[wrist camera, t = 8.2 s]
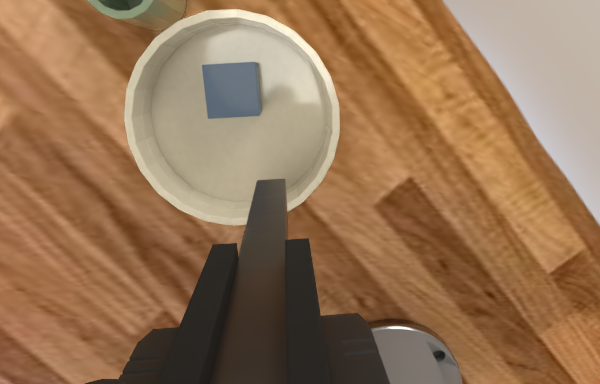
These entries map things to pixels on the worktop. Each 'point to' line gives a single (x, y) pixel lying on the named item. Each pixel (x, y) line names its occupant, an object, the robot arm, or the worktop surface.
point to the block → (232, 90)
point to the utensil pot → (143, 12)
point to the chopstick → (257, 296)
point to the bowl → (237, 130)
